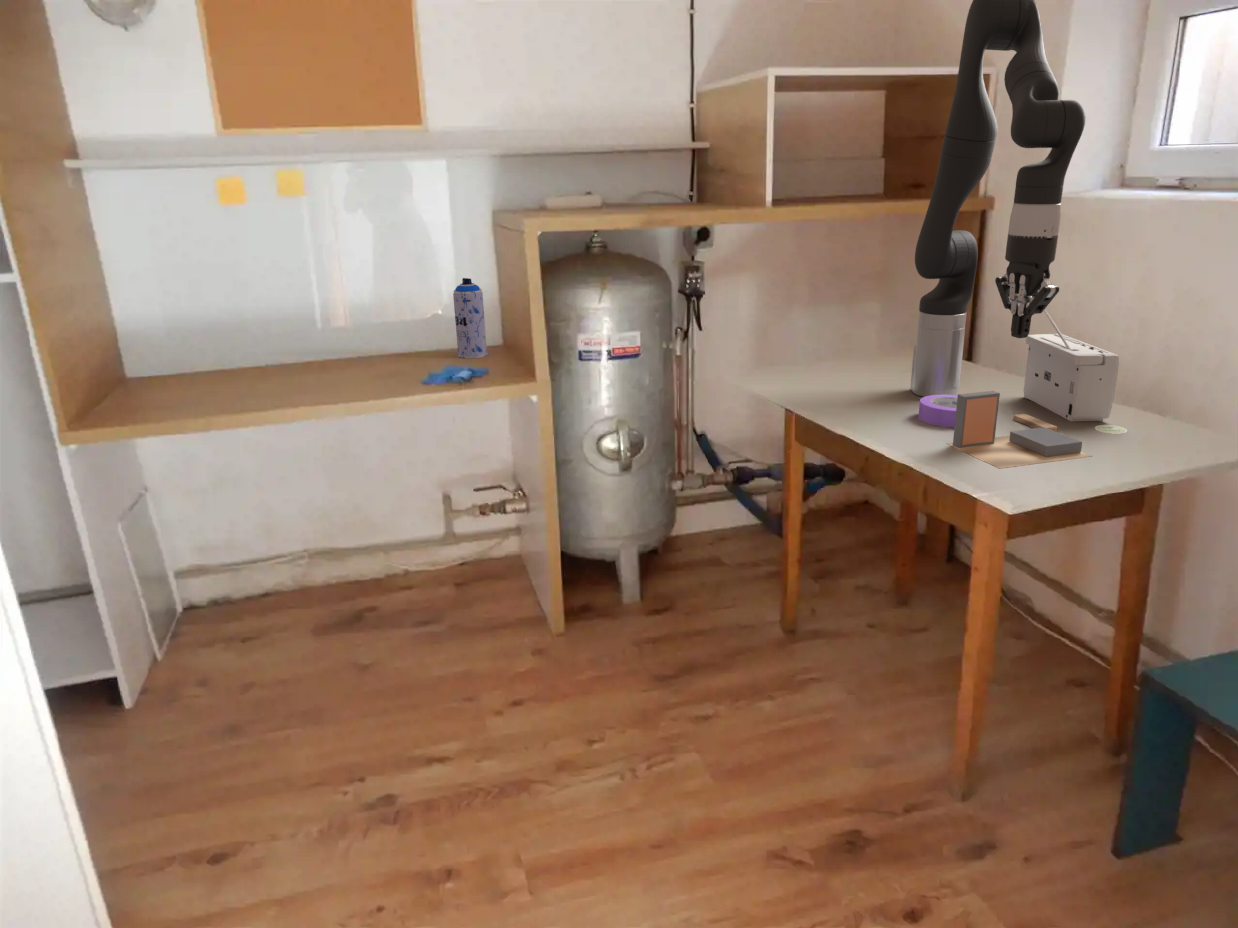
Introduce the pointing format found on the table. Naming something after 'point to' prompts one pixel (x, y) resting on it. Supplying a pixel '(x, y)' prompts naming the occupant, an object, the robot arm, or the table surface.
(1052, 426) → the wooden turner
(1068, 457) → the cork mat
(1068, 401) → the stereo radio cassette player
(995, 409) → the slate tile near
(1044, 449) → the slate tile far
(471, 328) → the aerosol can
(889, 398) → the table surface
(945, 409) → the masking tape
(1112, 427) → the sign
